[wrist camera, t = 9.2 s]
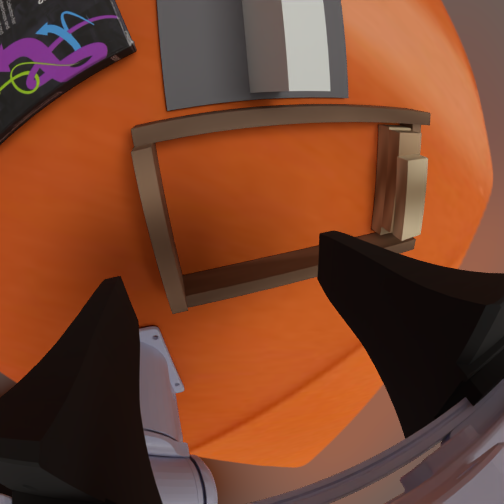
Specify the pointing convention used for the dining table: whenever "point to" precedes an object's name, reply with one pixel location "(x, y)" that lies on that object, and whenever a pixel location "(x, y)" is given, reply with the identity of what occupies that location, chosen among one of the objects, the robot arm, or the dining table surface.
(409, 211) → the offcuts
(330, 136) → the dining table surface
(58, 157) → the dining table surface
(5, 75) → the box
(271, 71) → the light grey block
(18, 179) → the dining table surface
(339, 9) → the mat
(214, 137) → the dining table surface
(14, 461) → the robot arm
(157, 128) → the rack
